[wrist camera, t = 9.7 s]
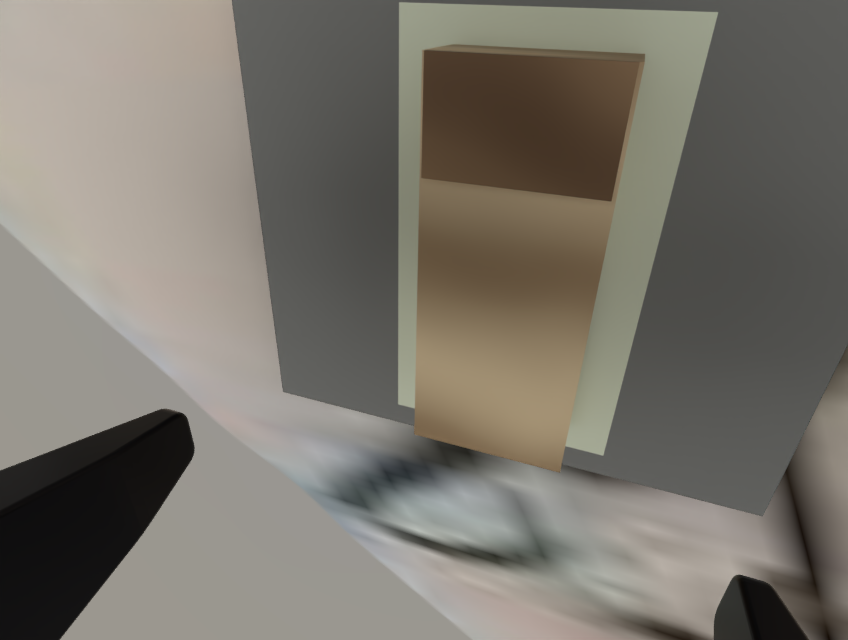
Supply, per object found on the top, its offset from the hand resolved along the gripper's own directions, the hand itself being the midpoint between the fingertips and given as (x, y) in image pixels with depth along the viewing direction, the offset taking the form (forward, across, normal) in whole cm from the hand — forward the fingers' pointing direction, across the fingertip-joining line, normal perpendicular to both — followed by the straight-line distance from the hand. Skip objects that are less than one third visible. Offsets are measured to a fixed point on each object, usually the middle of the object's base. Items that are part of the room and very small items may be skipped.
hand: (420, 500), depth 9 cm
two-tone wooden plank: (+10, 0, 0) cm, 10 cm away
